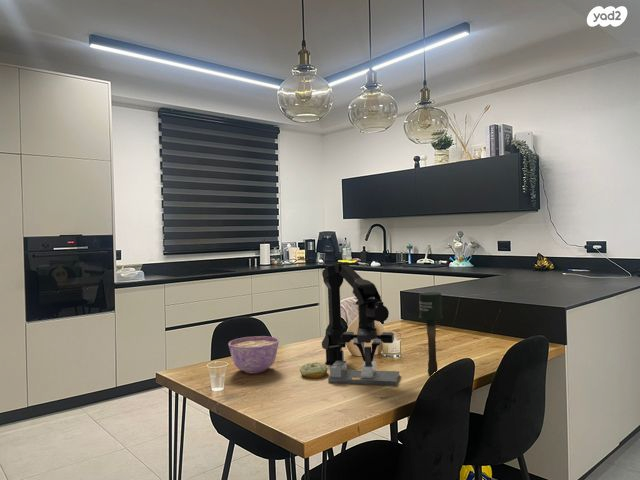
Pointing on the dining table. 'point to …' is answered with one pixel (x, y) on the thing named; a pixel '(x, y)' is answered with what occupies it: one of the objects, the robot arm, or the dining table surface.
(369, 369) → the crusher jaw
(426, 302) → the stick grenade
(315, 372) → the decorated donut
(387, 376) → the base
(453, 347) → the dining table surface
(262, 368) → the bowl of food
